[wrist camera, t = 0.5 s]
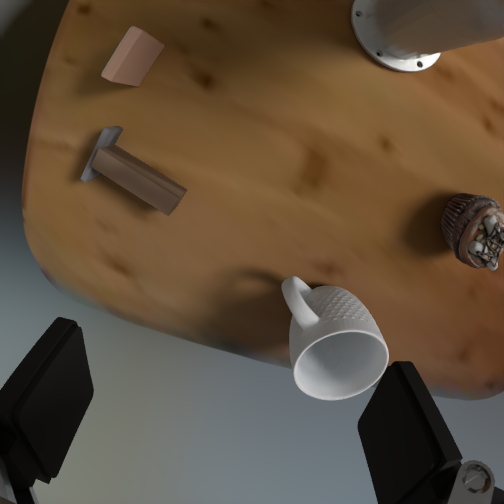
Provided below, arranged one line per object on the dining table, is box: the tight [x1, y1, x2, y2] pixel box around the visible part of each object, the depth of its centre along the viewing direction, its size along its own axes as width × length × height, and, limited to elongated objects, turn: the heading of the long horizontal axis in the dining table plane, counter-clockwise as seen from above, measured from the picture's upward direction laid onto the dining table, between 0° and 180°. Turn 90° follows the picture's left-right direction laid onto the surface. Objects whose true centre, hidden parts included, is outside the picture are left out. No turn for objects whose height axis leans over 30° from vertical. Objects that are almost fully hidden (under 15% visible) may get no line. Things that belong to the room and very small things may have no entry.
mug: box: [282, 276, 389, 400], centre depth 38 cm, size 15×11×13 cm
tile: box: [101, 26, 165, 87], centre depth 29 cm, size 6×2×8 cm, turn 146°
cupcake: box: [441, 193, 504, 271], centre depth 35 cm, size 10×10×10 cm
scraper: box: [81, 126, 187, 216], centre depth 36 cm, size 7×12×4 cm, turn 56°
